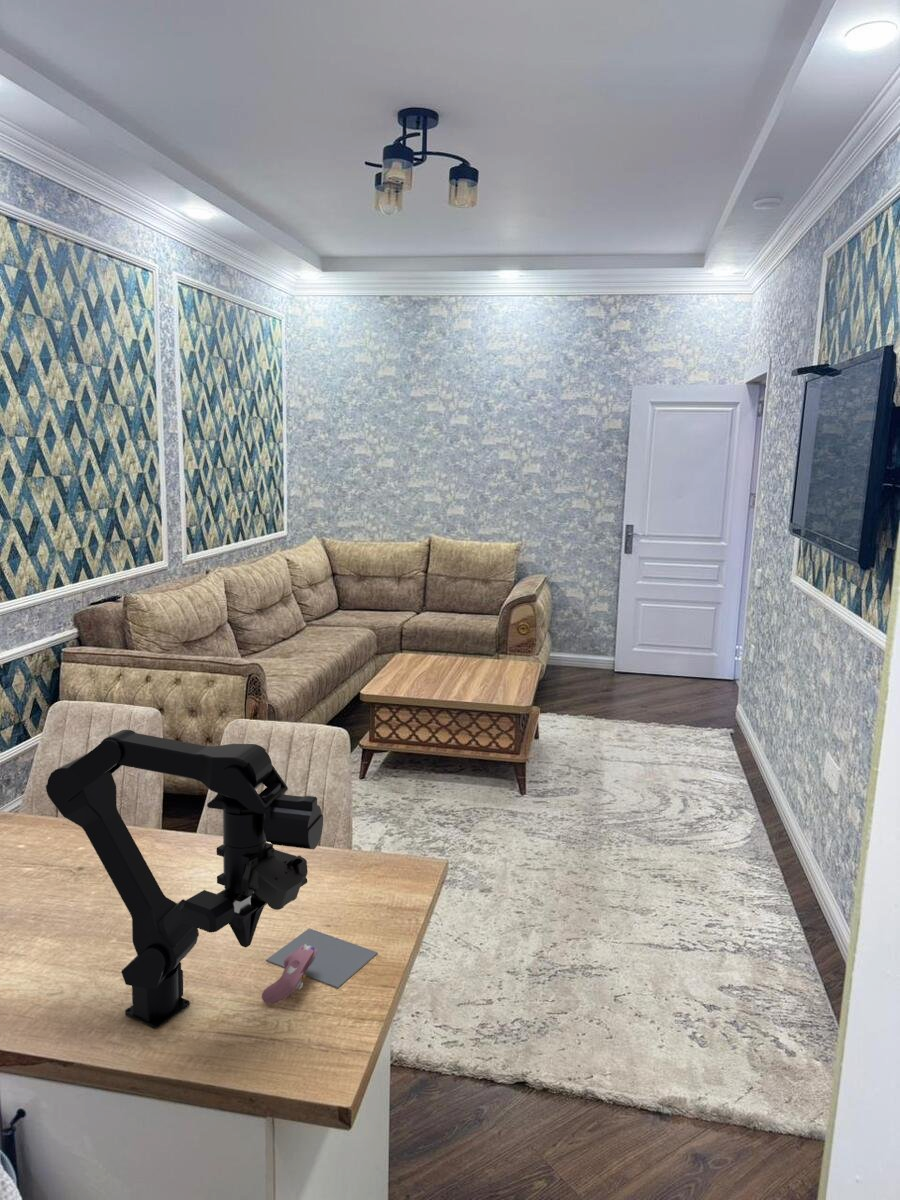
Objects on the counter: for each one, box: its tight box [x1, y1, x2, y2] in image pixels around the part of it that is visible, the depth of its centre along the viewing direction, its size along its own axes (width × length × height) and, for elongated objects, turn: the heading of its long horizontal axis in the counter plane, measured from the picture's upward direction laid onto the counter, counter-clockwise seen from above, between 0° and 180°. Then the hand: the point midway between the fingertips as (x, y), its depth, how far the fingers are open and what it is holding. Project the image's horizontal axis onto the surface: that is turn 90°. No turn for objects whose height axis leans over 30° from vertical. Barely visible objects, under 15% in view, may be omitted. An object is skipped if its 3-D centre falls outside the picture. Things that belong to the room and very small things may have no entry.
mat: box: [265, 927, 379, 989], centre depth 136 cm, size 11×14×1 cm
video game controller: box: [261, 944, 318, 1004], centre depth 127 cm, size 10×5×7 cm, turn 168°
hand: (245, 945), depth 117 cm, fingers closed
